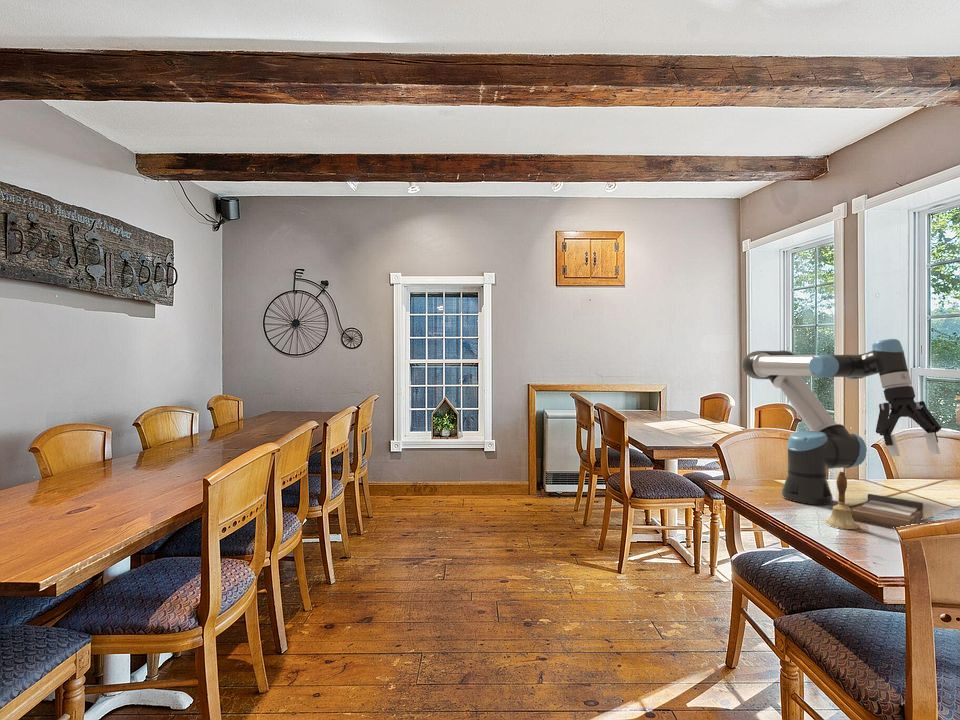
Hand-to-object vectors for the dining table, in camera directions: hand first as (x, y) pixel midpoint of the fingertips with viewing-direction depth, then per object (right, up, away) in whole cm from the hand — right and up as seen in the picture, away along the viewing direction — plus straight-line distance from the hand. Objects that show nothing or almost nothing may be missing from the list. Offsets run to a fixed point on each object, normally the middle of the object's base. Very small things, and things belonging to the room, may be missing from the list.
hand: (915, 455), depth 163 cm
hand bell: (-25, -20, -4) cm, 33 cm away
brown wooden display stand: (-7, -20, +1) cm, 21 cm away
